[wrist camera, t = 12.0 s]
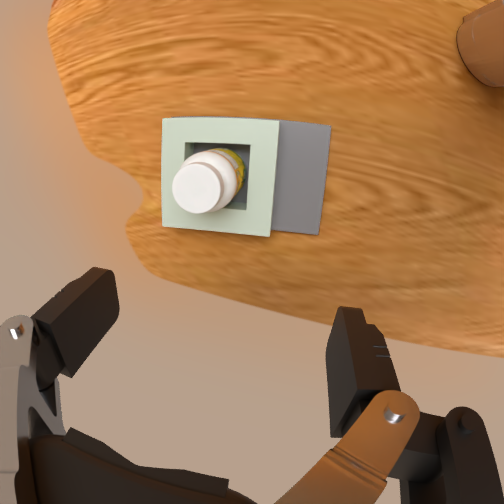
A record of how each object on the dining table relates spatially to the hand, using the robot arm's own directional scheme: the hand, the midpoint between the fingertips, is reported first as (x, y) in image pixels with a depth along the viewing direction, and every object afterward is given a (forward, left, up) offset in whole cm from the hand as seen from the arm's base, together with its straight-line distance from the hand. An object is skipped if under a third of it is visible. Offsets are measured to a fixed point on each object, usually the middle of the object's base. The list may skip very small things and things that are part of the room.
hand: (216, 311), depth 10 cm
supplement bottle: (-1, -5, -23) cm, 24 cm away
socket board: (-1, -2, -24) cm, 24 cm away
